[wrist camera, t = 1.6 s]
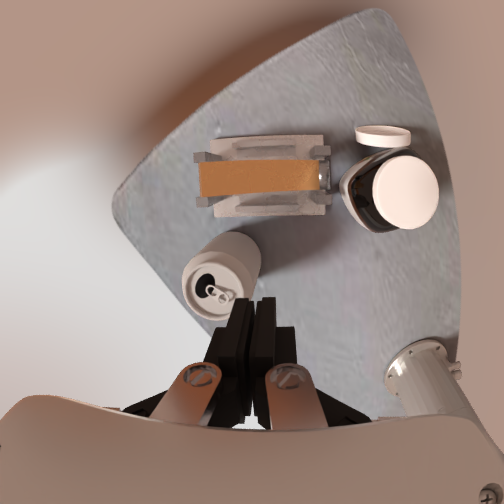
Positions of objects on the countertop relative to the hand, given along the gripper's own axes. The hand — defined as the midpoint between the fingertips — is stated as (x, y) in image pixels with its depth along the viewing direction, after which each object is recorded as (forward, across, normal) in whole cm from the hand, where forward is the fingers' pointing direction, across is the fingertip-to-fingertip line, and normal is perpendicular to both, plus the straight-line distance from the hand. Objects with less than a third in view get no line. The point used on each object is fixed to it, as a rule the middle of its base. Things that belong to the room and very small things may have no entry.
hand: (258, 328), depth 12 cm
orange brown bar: (+17, 0, -6) cm, 18 cm away
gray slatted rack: (+26, 0, -5) cm, 26 cm away
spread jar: (+26, -13, -6) cm, 29 cm away
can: (+26, +5, +5) cm, 27 cm away
